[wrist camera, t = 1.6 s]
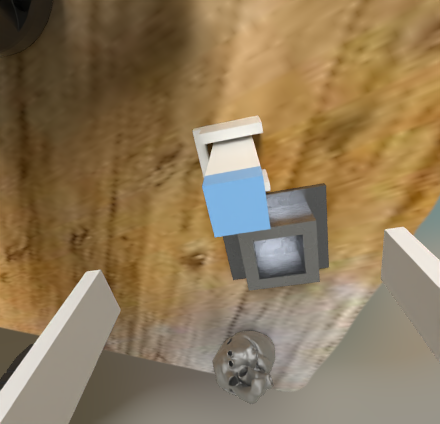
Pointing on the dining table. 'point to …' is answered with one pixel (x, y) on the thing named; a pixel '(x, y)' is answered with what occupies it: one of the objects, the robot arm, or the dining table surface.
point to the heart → (245, 365)
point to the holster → (226, 138)
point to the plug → (235, 188)
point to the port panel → (284, 241)
